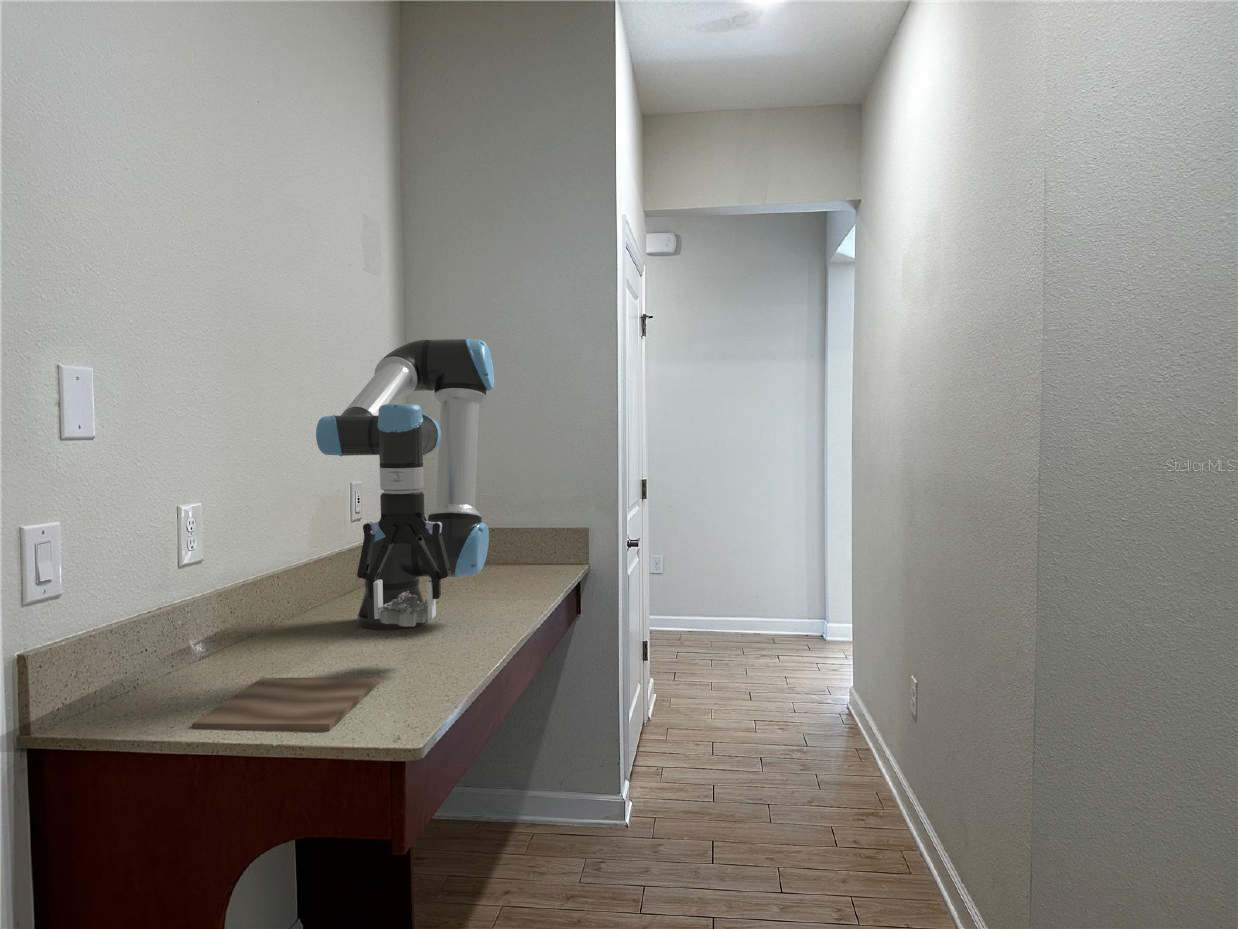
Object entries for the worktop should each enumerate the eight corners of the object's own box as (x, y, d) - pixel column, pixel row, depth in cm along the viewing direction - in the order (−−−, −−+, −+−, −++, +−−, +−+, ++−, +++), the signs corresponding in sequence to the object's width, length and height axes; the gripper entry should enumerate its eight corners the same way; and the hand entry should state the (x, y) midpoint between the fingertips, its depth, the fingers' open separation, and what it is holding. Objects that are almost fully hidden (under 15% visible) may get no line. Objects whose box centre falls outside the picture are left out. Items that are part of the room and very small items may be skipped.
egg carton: (407, 611, 159) (408, 589, 159) (441, 617, 157) (443, 595, 156) (372, 622, 149) (373, 598, 149) (408, 629, 147) (410, 605, 146)
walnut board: (262, 684, 144) (261, 677, 144) (378, 684, 143) (378, 677, 143) (192, 731, 122) (192, 723, 122) (329, 732, 121) (329, 723, 121)
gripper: (334, 493, 147) (338, 622, 149) (457, 492, 147) (460, 622, 148) (349, 489, 155) (353, 612, 156) (467, 488, 154) (469, 612, 155)
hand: (405, 617), depth 152 cm, fingers closed on egg carton, 9 cm apart
